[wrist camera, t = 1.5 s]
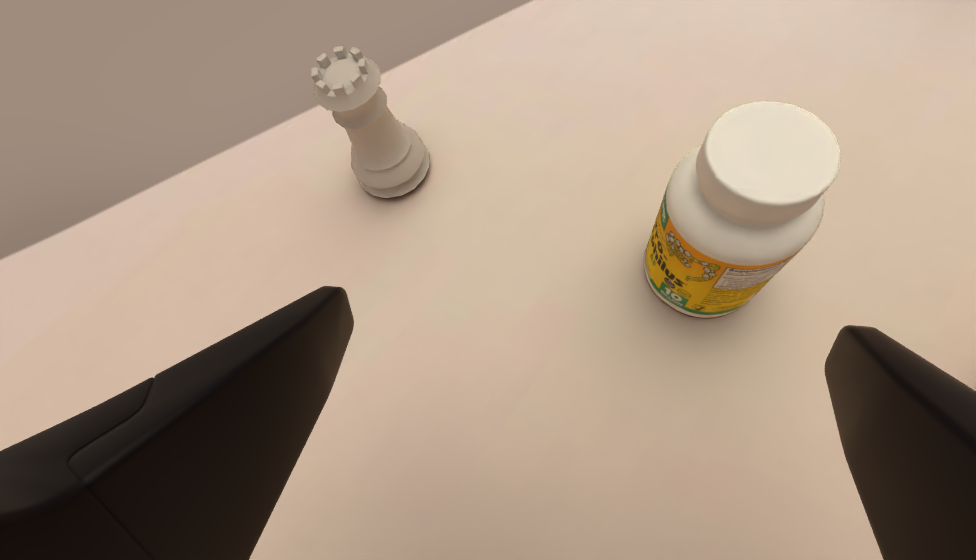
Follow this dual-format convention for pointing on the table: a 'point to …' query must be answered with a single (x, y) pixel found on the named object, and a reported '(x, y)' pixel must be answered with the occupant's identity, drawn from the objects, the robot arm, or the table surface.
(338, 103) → the rook chess piece
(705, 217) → the supplement bottle
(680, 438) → the table surface
